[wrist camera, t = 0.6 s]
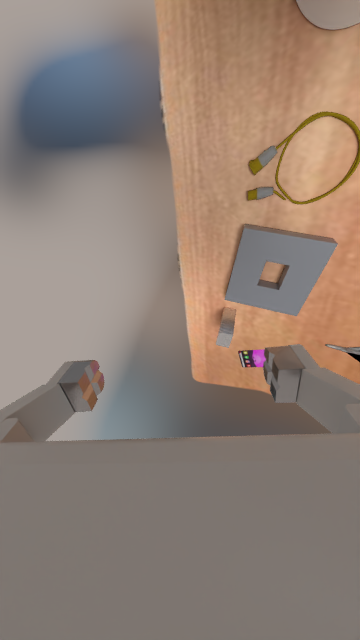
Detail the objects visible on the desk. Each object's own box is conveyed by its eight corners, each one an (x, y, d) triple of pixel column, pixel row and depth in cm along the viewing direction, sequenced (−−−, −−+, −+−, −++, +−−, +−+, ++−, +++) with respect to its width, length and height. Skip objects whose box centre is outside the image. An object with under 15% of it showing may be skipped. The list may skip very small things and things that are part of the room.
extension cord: (264, 105, 31) (264, 102, 30) (380, 118, 29) (387, 116, 27) (239, 198, 39) (239, 199, 37) (329, 214, 37) (332, 216, 35)
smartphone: (238, 348, 62) (237, 351, 61) (295, 346, 55) (296, 349, 55) (242, 365, 66) (242, 367, 65) (297, 365, 59) (297, 367, 58)
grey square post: (224, 306, 53) (219, 331, 46) (236, 309, 53) (232, 335, 45) (221, 319, 56) (215, 344, 49) (232, 322, 56) (228, 348, 48)
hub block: (244, 223, 41) (244, 227, 38) (333, 238, 38) (337, 243, 36) (226, 293, 51) (224, 299, 49) (294, 308, 48) (296, 316, 46)
